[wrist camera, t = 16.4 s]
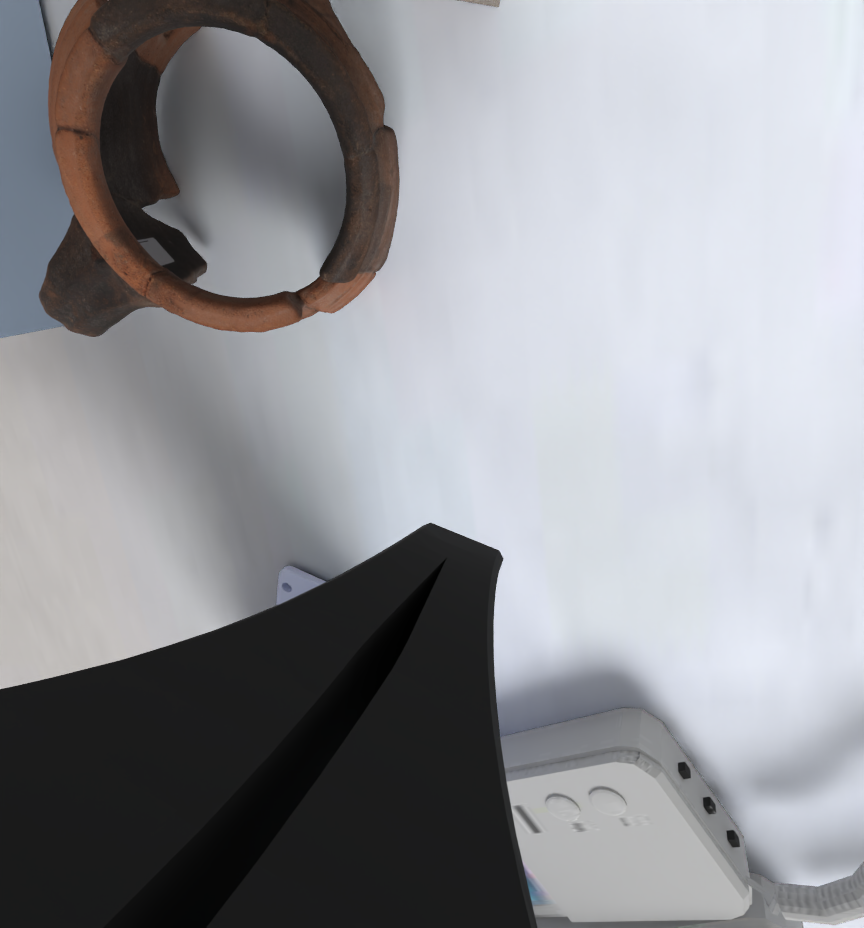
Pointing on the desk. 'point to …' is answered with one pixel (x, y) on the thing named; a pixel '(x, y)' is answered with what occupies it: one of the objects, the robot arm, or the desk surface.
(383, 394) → the desk surface
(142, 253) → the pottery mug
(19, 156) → the rectangular plank
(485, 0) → the u-shaped bracket
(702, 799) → the intercom
